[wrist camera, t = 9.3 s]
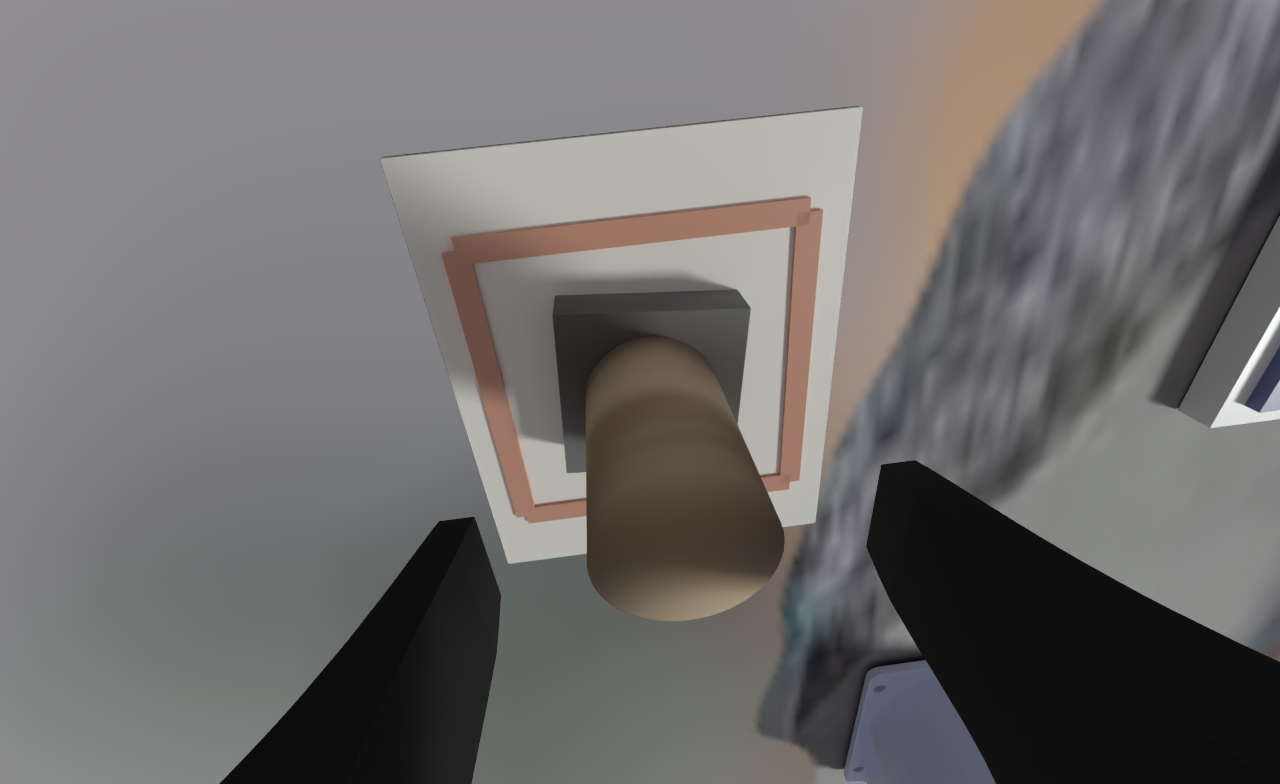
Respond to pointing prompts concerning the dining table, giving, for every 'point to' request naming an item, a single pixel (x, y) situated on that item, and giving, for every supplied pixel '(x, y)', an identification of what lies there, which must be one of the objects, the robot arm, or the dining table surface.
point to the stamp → (664, 450)
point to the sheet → (631, 285)
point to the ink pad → (1244, 352)
